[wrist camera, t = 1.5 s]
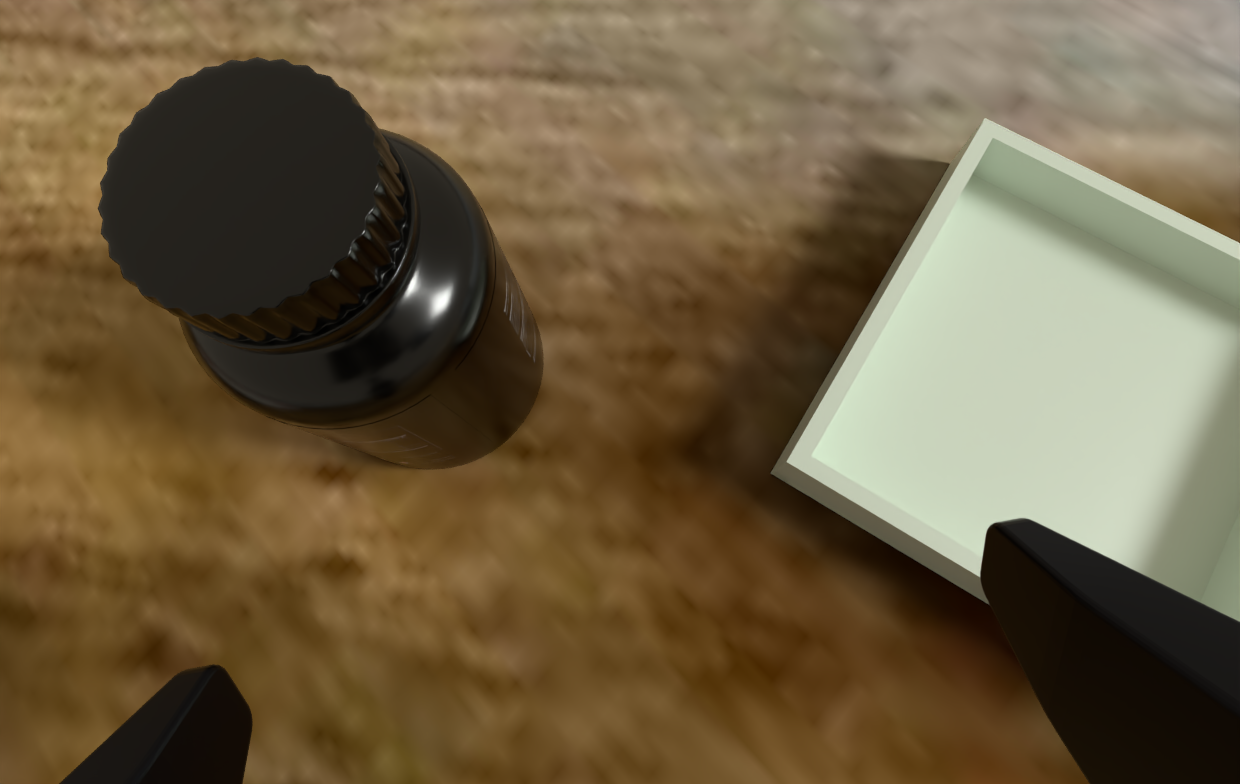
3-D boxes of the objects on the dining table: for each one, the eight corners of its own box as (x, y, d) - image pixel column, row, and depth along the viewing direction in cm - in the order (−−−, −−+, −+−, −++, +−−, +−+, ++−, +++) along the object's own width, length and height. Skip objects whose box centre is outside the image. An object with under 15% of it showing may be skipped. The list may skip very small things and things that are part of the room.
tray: (1159, 707, 20) (1229, 726, 18) (770, 473, 22) (786, 462, 20) (1314, 346, 23) (1395, 319, 20) (950, 162, 25) (984, 118, 22)
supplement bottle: (378, 252, 24) (138, -36, 13) (571, 298, 24) (503, 41, 12) (306, 444, 23) (-41, 318, 11) (510, 499, 22) (368, 427, 11)
